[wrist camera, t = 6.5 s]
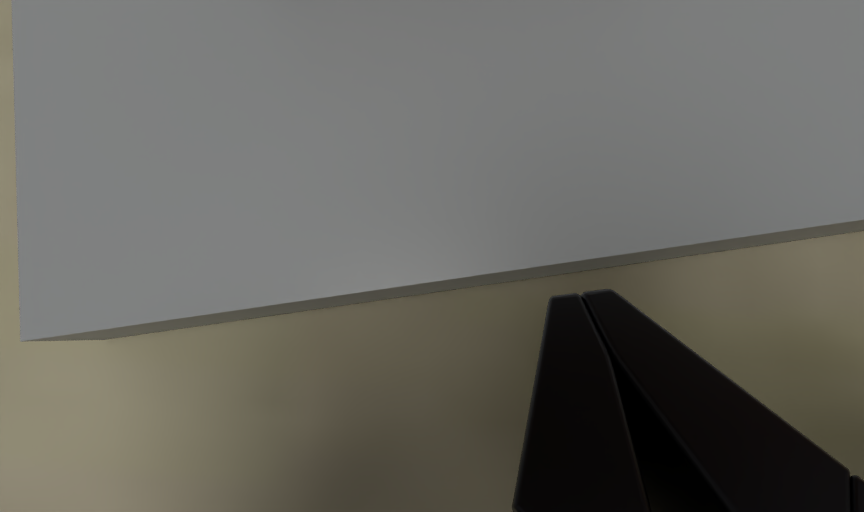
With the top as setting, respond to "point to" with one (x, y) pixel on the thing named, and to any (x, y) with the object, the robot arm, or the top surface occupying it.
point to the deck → (411, 147)
